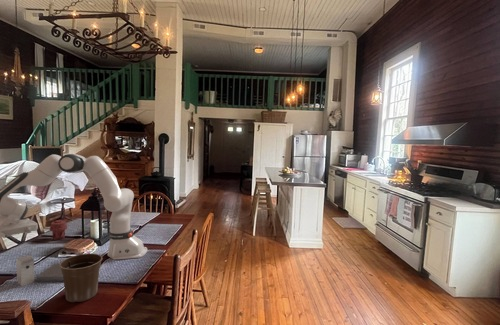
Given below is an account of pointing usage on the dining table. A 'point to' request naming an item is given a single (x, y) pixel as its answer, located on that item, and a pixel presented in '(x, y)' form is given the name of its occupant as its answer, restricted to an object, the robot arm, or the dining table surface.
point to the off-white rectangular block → (25, 270)
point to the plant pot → (81, 276)
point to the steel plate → (51, 274)
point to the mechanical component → (58, 229)
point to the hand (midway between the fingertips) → (17, 233)
